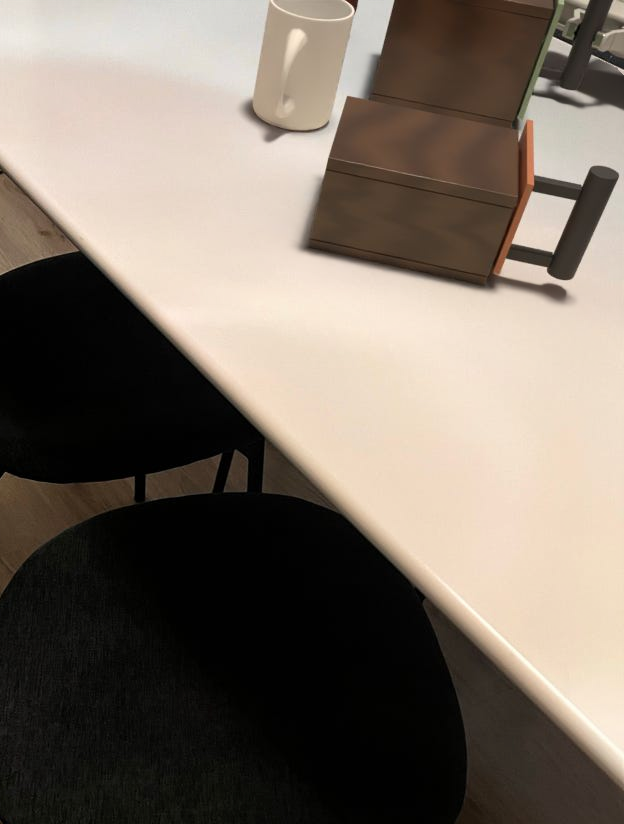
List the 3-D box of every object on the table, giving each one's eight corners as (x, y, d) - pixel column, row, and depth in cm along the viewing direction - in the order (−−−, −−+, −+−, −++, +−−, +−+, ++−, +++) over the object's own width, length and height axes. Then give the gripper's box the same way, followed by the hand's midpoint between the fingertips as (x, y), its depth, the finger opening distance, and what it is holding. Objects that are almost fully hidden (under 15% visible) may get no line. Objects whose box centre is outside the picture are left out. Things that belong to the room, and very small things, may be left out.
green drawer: (576, 86, 121) (619, -24, 112) (580, 131, 112) (627, 16, 103) (394, 50, 123) (422, -61, 114) (384, 92, 114) (414, -25, 105)
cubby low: (488, 214, 99) (519, 130, 93) (484, 285, 90) (518, 197, 84) (327, 180, 101) (347, 95, 95) (307, 247, 92) (328, 157, 86)
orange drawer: (568, 220, 98) (611, 118, 91) (572, 290, 89) (620, 184, 82) (343, 173, 100) (368, 70, 92) (326, 237, 91) (352, 129, 84)
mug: (231, 131, 106) (249, 17, 98) (264, 91, 113) (283, -18, 105) (310, 152, 104) (335, 38, 96) (338, 110, 112) (363, 1, 104)
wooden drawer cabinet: (511, 83, 122) (551, -31, 113) (510, 129, 113) (553, 8, 104) (380, 57, 124) (409, -58, 115) (369, 100, 115) (399, -21, 106)
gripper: (575, -43, 124) (516, -25, 117) (733, 12, 115) (680, 35, 108) (554, 15, 129) (496, 35, 122) (704, 72, 120) (652, 98, 113)
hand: (584, 36), depth 115 cm, fingers closed on green drawer, 2 cm apart
